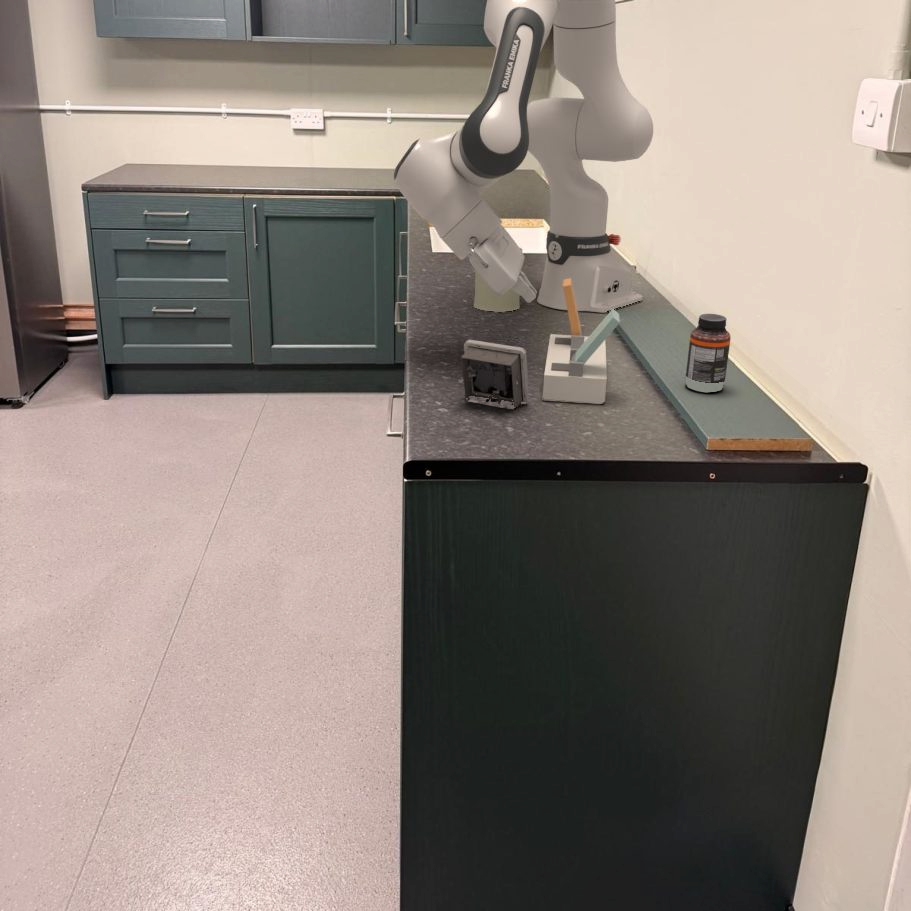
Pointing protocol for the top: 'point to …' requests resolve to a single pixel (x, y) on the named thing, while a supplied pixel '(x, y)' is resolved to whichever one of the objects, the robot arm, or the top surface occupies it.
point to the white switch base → (574, 371)
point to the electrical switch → (495, 371)
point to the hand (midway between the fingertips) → (533, 298)
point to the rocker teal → (597, 337)
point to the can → (493, 297)
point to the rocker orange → (572, 307)
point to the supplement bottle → (708, 350)
